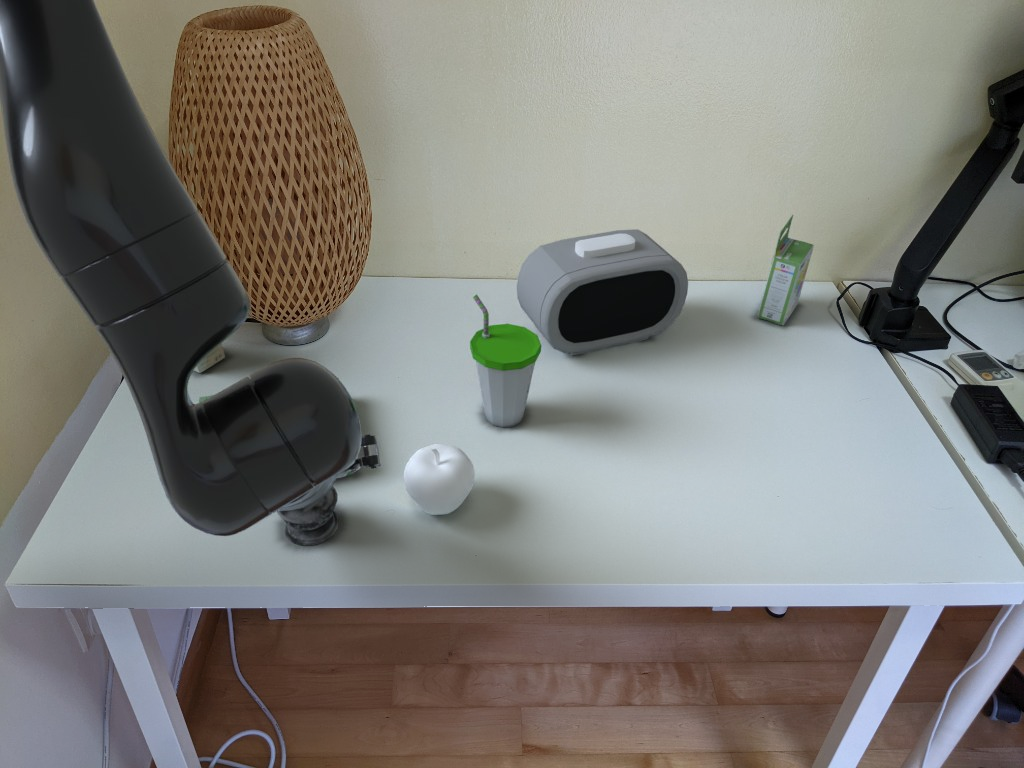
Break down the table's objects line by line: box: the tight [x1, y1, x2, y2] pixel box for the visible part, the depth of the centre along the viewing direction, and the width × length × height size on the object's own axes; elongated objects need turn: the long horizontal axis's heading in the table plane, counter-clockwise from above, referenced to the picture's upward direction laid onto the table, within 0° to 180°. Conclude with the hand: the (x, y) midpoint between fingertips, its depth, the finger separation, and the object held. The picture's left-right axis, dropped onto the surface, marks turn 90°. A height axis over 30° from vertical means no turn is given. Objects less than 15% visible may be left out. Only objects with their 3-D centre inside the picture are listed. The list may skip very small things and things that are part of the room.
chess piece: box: [276, 486, 339, 547], centre depth 73 cm, size 6×6×12 cm
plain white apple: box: [403, 443, 476, 516], centre depth 77 cm, size 7×7×8 cm
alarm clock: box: [516, 228, 689, 357], centre depth 102 cm, size 21×10×13 cm, turn 112°
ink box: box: [757, 214, 815, 326], centre depth 107 cm, size 7×4×13 cm, turn 148°
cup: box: [469, 293, 542, 428], centre depth 87 cm, size 8×8×15 cm
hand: (301, 467), depth 73 cm, fingers open, 8 cm apart
